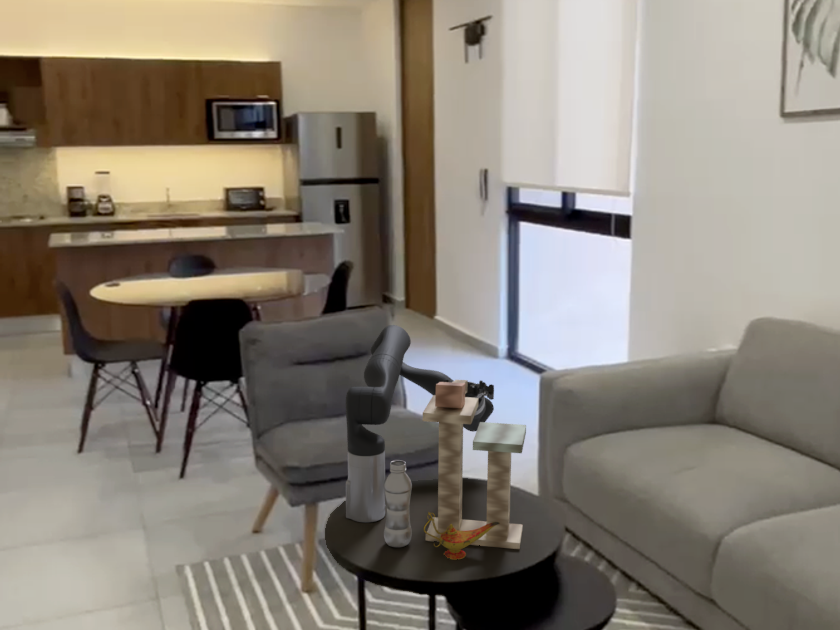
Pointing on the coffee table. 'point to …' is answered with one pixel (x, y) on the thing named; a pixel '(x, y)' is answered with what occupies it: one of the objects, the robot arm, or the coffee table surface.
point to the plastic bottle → (397, 505)
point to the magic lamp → (458, 538)
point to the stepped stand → (499, 446)
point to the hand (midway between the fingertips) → (463, 383)
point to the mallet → (451, 394)
